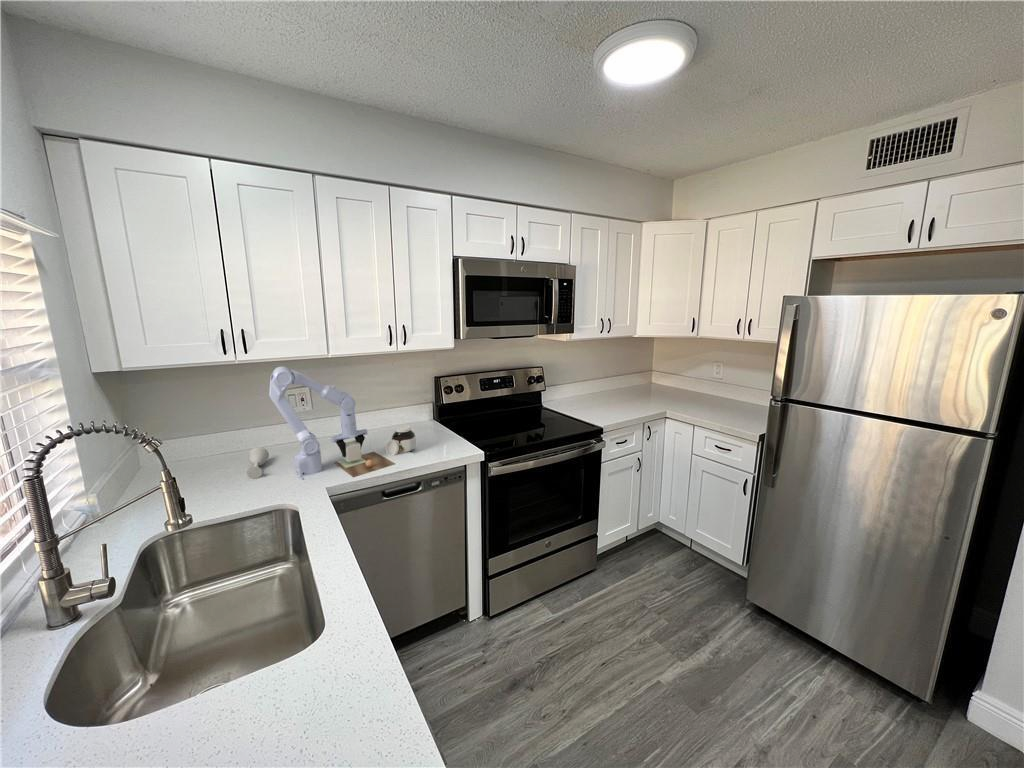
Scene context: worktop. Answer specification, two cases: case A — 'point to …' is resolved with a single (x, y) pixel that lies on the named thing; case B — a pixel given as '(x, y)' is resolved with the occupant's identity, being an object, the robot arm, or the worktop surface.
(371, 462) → the terracotta ball
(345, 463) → the sage pad
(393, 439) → the spread jar
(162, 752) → the worktop surface
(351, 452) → the rounded beige cube
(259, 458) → the chalice
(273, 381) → the robot arm
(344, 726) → the worktop surface
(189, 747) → the worktop surface
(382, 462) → the walnut board
